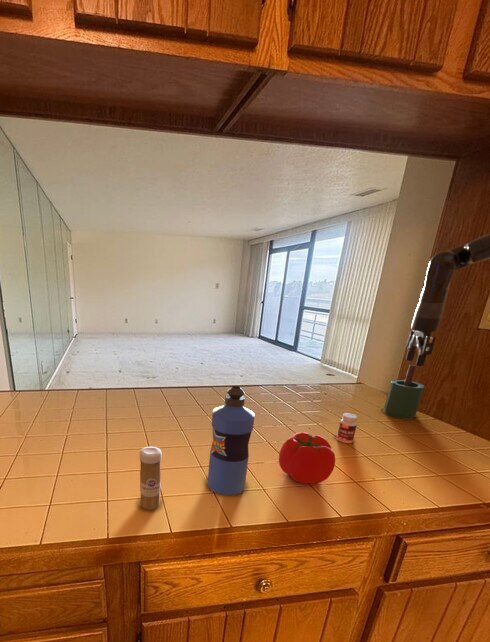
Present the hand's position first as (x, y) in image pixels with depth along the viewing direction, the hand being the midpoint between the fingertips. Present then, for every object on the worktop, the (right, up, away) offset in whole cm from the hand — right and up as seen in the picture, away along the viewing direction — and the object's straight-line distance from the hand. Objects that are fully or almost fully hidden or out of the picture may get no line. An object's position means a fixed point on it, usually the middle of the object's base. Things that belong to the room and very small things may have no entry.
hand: (413, 363), depth 124 cm
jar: (0, -18, +8) cm, 20 cm away
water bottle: (-74, -36, -39) cm, 91 cm away
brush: (0, -17, +7) cm, 19 cm away
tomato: (-54, -35, -35) cm, 73 cm away
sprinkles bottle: (-93, -39, -47) cm, 111 cm away
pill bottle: (-32, -27, -14) cm, 44 cm away
